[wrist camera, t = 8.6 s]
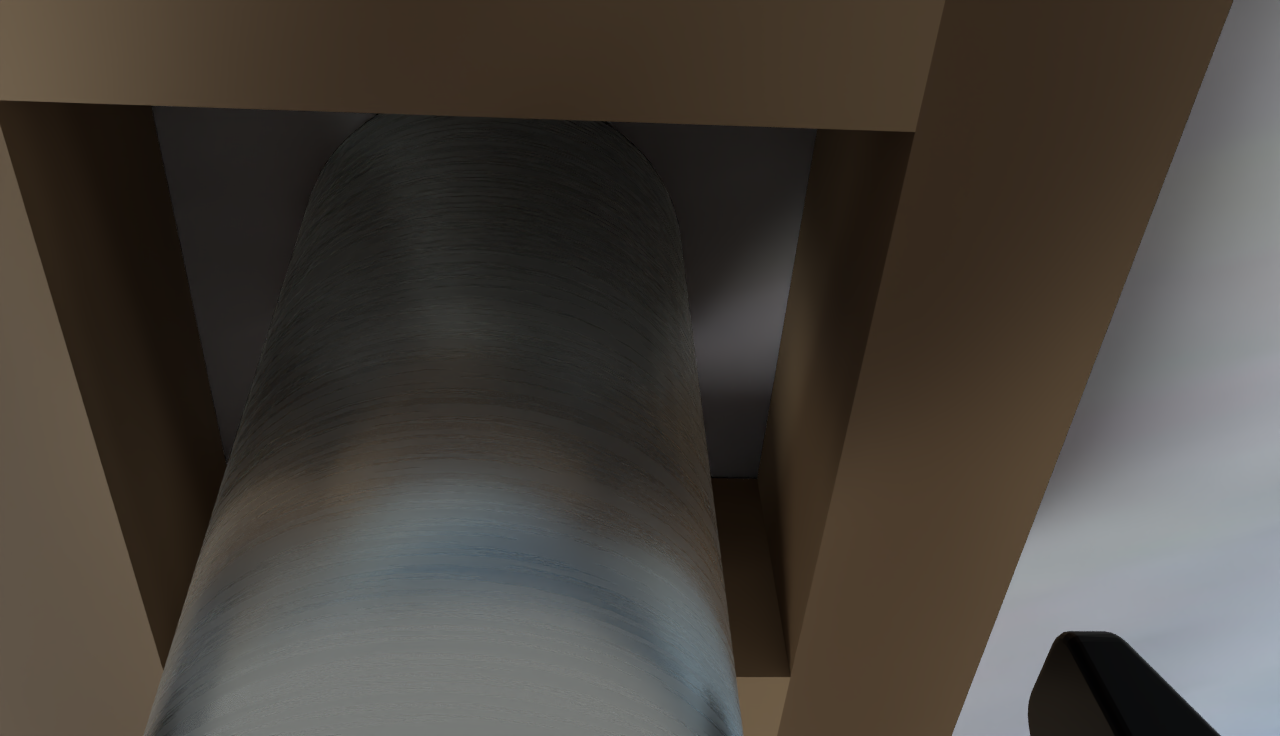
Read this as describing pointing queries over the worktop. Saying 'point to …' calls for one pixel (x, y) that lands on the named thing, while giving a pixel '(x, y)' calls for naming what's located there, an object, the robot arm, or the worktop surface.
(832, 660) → the brown wooden square frame
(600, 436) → the grey cylinder
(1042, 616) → the worktop surface
